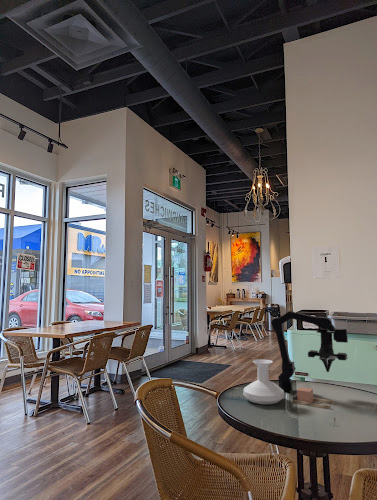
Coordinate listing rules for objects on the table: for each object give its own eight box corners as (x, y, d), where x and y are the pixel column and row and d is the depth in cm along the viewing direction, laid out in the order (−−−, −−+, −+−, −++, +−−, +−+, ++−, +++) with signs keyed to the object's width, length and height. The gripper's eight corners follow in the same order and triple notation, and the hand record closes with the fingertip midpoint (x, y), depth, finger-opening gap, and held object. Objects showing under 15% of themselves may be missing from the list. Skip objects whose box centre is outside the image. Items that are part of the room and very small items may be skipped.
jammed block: (297, 402, 178) (297, 390, 178) (301, 399, 183) (300, 387, 183) (310, 404, 174) (309, 391, 175) (313, 401, 179) (312, 388, 180)
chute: (291, 403, 178) (291, 396, 178) (296, 398, 185) (296, 392, 185) (330, 409, 168) (330, 402, 168) (334, 404, 175) (334, 397, 176)
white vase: (292, 401, 180) (291, 361, 182) (267, 410, 168) (266, 367, 169) (260, 392, 196) (259, 355, 197) (235, 400, 183) (234, 361, 185)
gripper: (304, 342, 189) (305, 373, 188) (342, 345, 179) (344, 377, 178) (310, 339, 199) (311, 368, 197) (346, 342, 189) (348, 372, 187)
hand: (327, 371), depth 190 cm, fingers closed
